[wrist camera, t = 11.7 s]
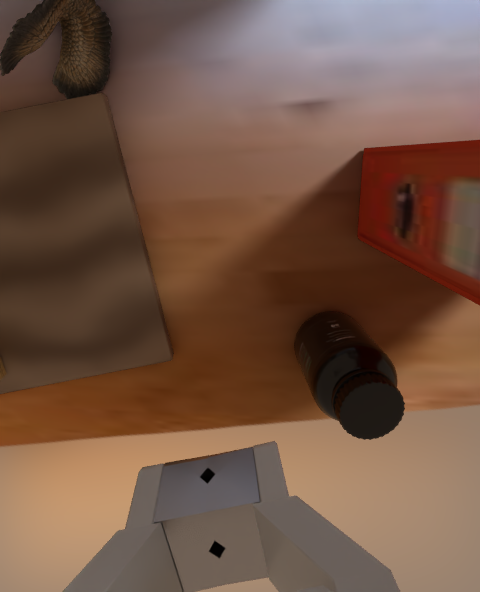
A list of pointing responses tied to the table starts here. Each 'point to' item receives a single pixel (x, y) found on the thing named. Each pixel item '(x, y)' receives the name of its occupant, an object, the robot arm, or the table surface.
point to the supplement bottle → (349, 375)
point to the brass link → (2, 369)
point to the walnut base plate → (71, 250)
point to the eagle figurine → (65, 44)
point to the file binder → (425, 210)
